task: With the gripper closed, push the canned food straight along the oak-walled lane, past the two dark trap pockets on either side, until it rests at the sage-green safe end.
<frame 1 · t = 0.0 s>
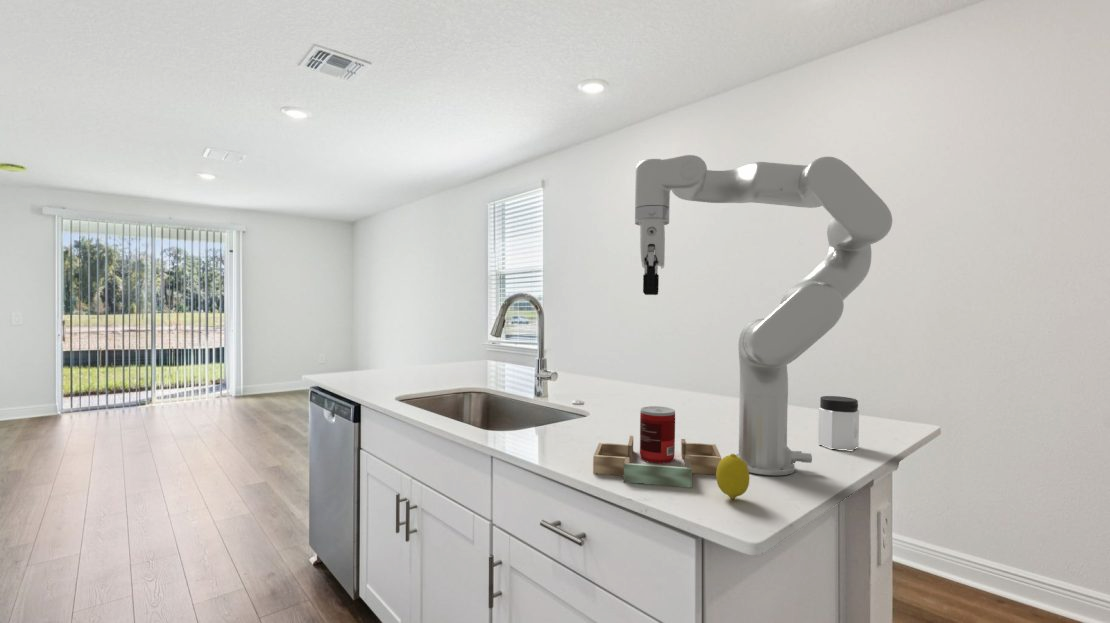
hand: (650, 294, 113), 37 cm above the worktop, tool pointing down, fingers open, 9 cm apart
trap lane: (657, 466, 108), on the worktop
jar: (838, 447, 126), on the worktop
lemon: (732, 500, 90), on the worktop
canned food: (657, 459, 114), on the worktop
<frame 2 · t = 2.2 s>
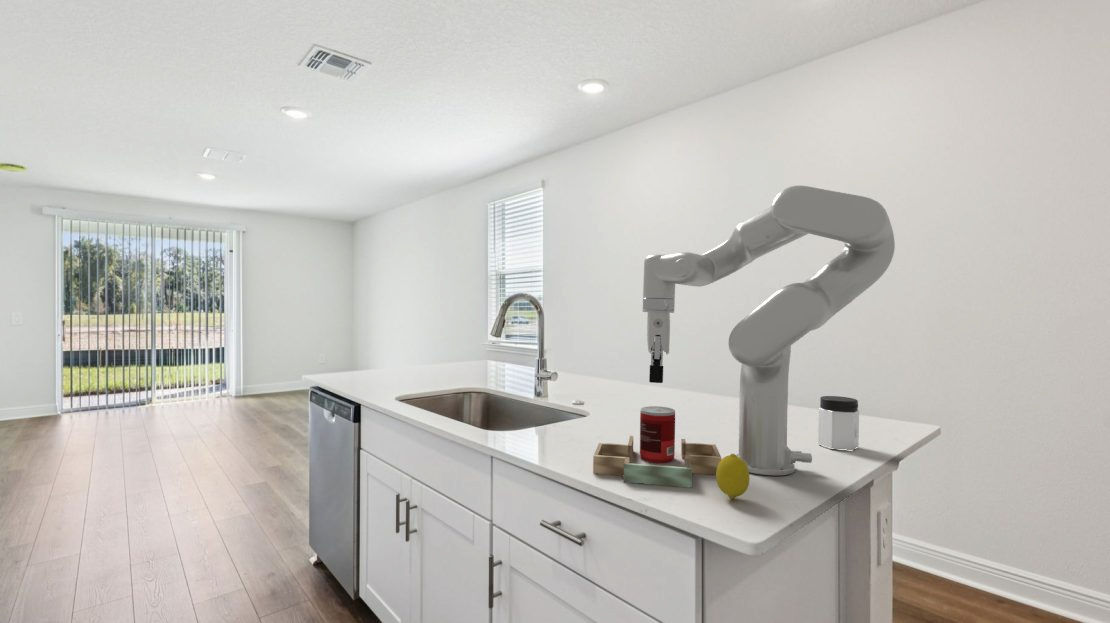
hand: (656, 382, 123), 16 cm above the worktop, tool pointing down, fingers closed
nothing on the worktop moved.
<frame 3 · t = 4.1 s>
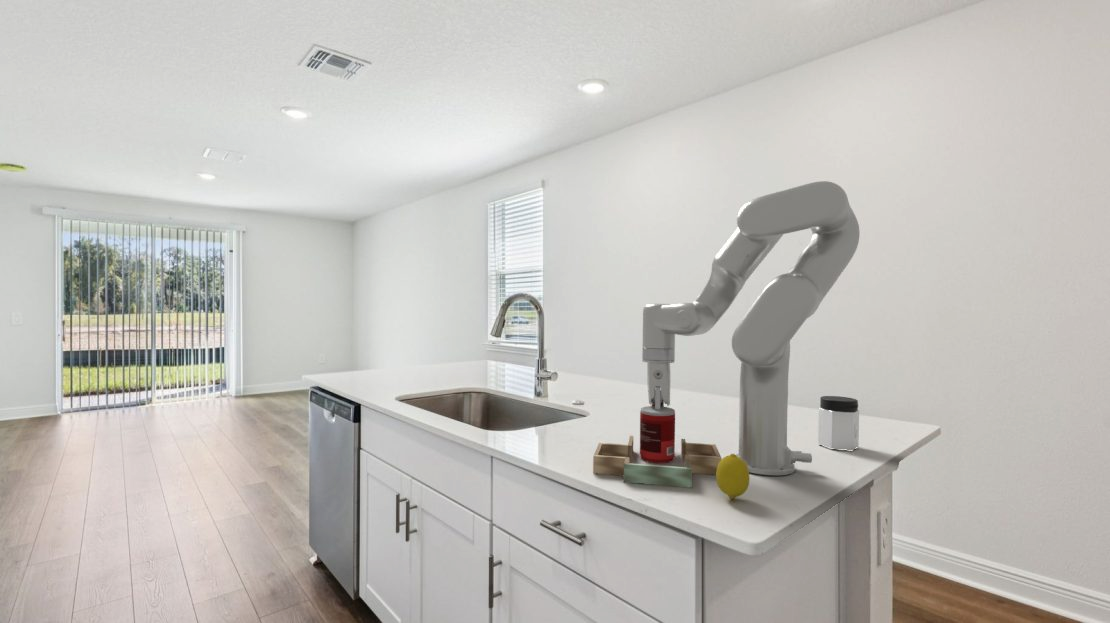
hand: (657, 432, 121), 4 cm above the worktop, tool pointing down, fingers closed
canned food: (657, 459, 114), on the worktop, touching gripper
everything else where it was.
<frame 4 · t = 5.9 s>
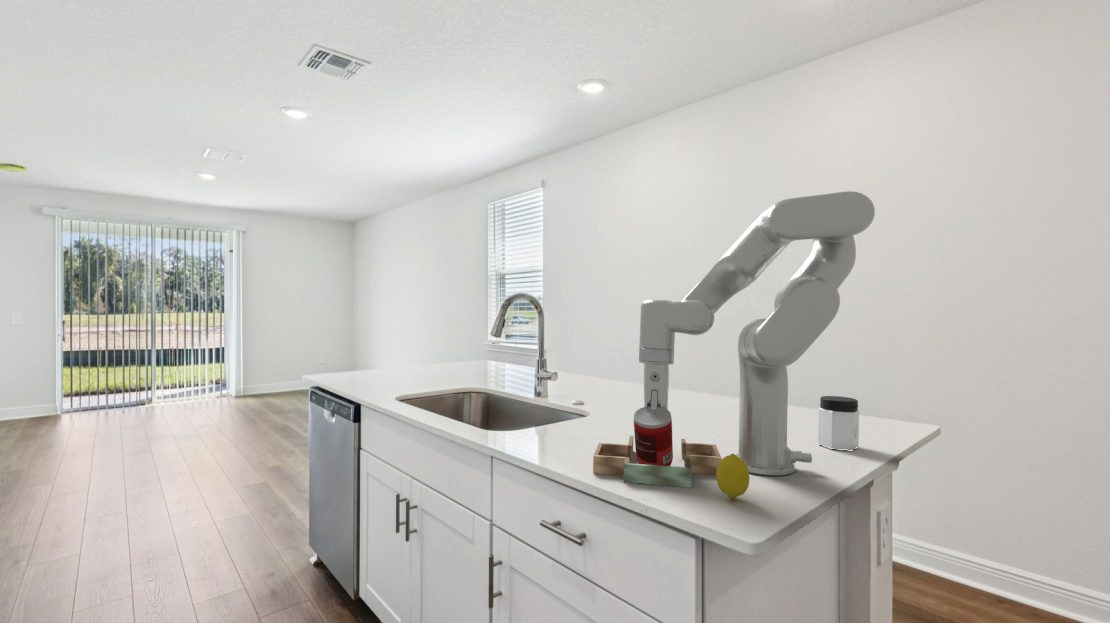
hand: (653, 439, 112), 5 cm above the worktop, tool pointing down, fingers closed
canned food: (654, 461, 108), point 1 cm above the worktop, touching gripper
everything else where it was.
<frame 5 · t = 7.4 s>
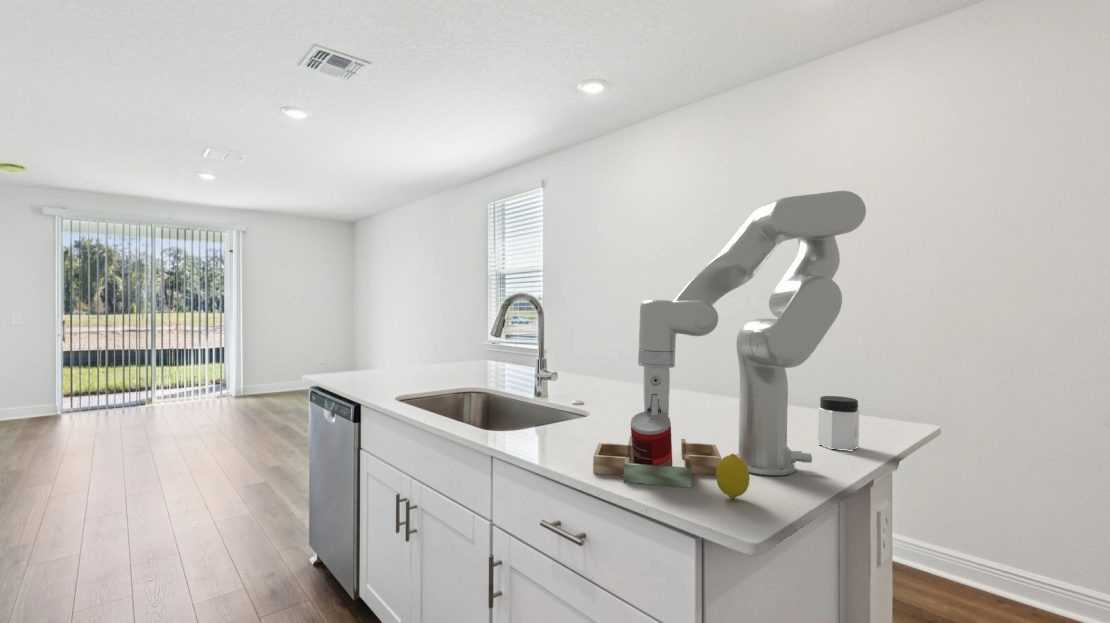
hand: (653, 446, 106), 5 cm above the worktop, tool pointing down, fingers closed
canned food: (653, 469, 102), point 1 cm above the worktop, touching gripper, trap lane
everything else where it was.
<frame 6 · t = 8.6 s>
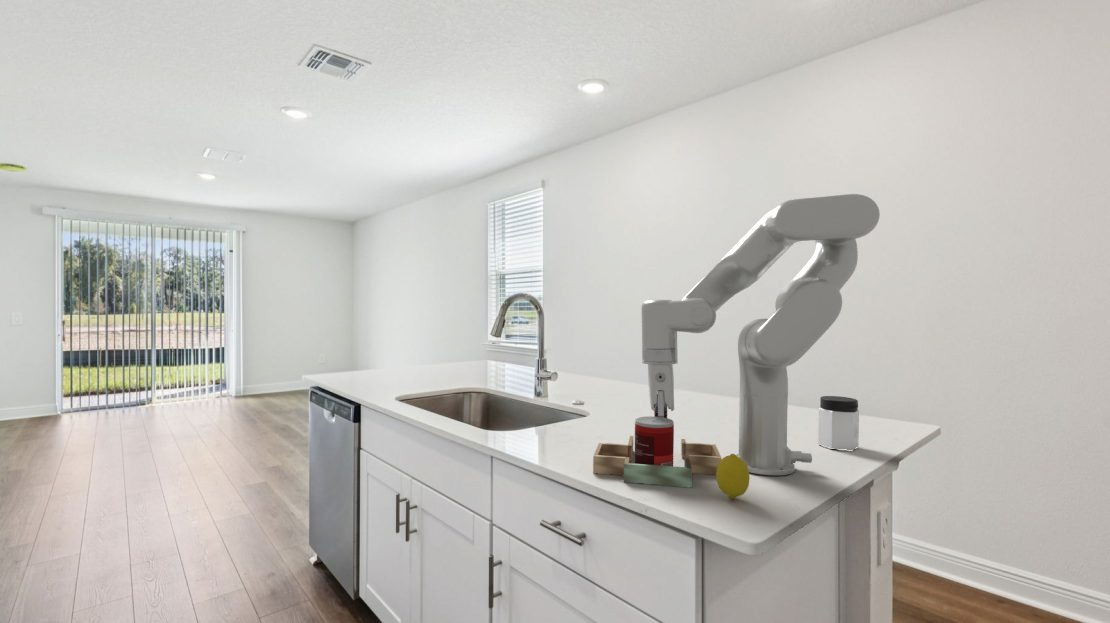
hand: (661, 440, 111), 5 cm above the worktop, tool pointing down, fingers closed
canned food: (653, 475, 102), on the worktop
everything else where it was.
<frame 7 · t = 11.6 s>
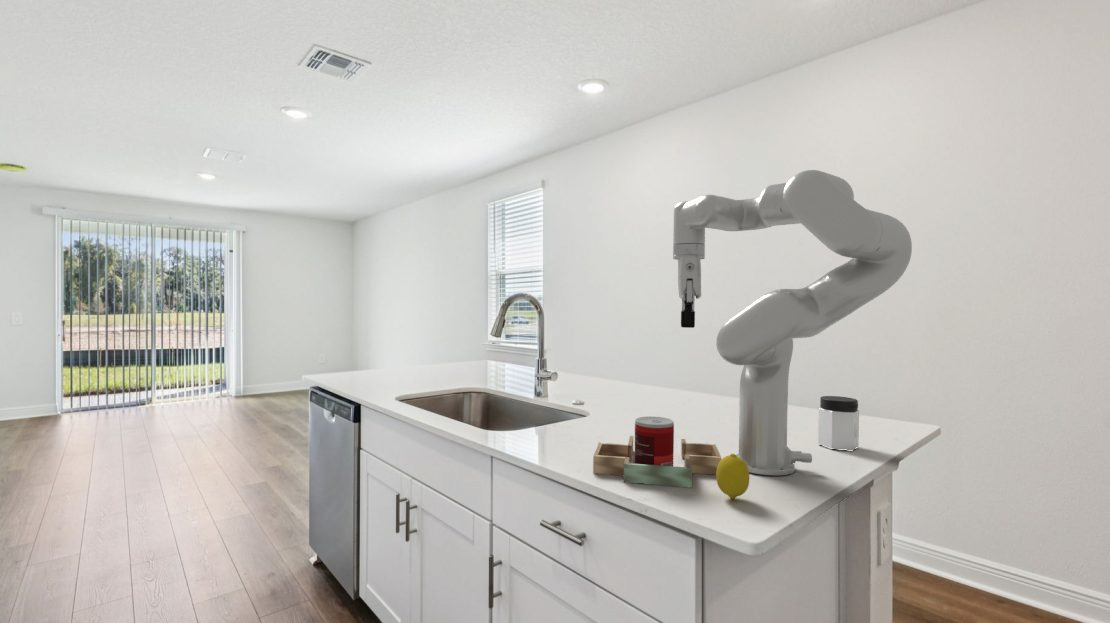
hand: (687, 327, 125), 29 cm above the worktop, tool pointing down, fingers closed
nothing on the worktop moved.
at the end: canned food inside the target area (1.8 cm from its centre), on the worktop; canned food tilted 0° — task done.
